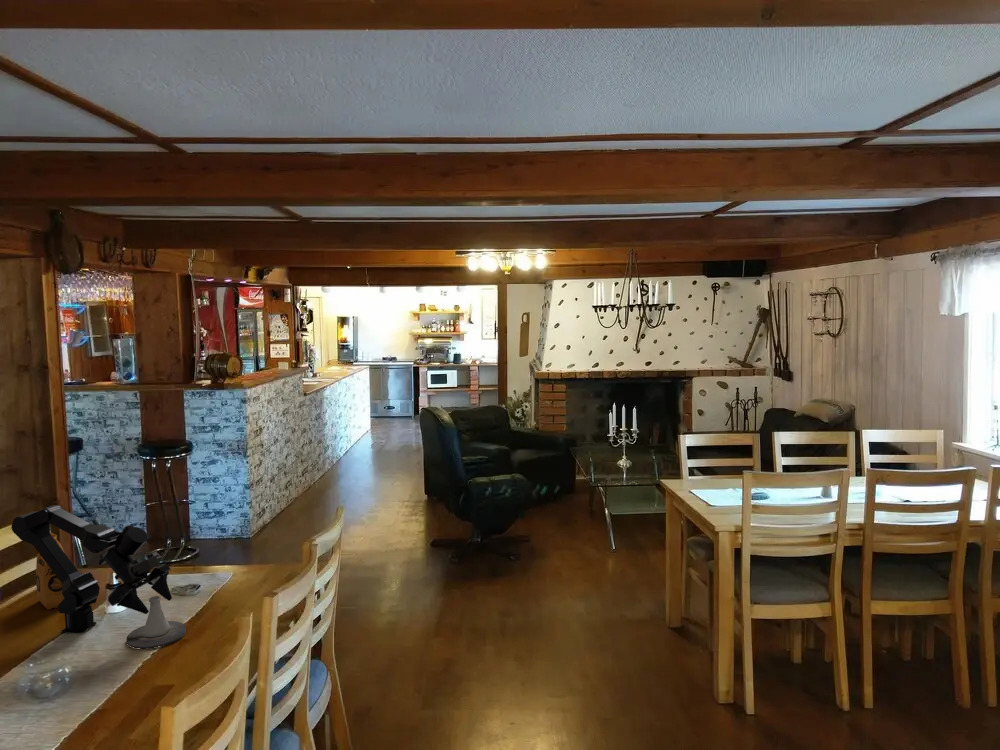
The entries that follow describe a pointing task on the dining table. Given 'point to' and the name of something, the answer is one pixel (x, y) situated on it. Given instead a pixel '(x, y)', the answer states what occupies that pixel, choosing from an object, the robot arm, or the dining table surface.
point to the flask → (155, 619)
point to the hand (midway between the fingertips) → (159, 606)
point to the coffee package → (48, 582)
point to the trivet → (171, 636)
